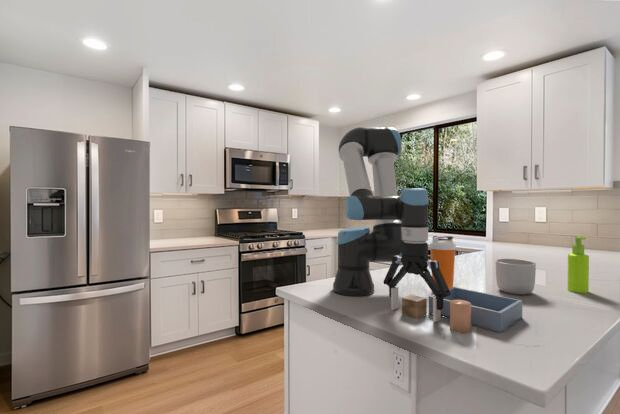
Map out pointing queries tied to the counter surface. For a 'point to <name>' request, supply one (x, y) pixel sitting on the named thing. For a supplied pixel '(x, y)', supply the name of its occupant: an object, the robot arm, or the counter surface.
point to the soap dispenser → (578, 268)
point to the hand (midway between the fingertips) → (414, 314)
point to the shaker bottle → (444, 257)
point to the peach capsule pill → (460, 316)
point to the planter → (515, 275)
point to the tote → (484, 308)
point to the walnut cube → (414, 306)
